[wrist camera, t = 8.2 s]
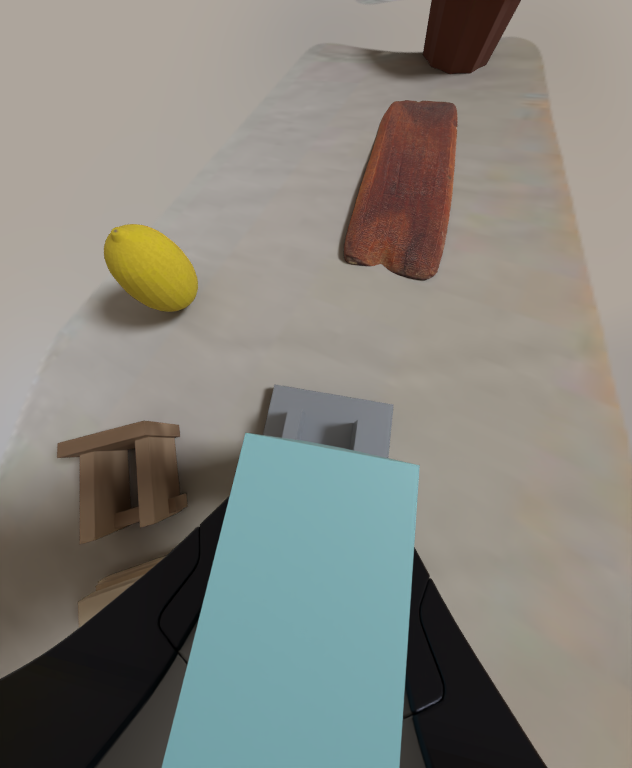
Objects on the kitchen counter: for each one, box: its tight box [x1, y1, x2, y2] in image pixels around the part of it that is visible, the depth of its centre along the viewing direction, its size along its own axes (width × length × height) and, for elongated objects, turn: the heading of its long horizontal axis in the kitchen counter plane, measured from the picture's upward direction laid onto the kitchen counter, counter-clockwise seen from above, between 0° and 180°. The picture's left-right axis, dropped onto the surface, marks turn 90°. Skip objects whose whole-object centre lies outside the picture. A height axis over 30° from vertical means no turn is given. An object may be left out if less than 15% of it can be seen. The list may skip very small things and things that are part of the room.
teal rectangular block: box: [162, 433, 419, 768], centre depth 8 cm, size 4×2×12 cm, turn 170°
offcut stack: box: [78, 555, 167, 628], centre depth 16 cm, size 3×8×3 cm, turn 108°
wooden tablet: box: [344, 100, 457, 280], centre depth 26 cm, size 27×10×2 cm, turn 165°
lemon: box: [104, 224, 198, 312], centre depth 19 cm, size 6×6×8 cm
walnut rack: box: [57, 421, 188, 544], centre depth 17 cm, size 7×6×4 cm
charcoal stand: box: [263, 385, 393, 458], centre depth 17 cm, size 12×10×4 cm
